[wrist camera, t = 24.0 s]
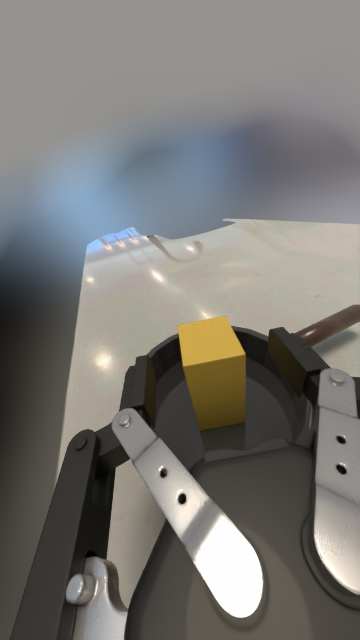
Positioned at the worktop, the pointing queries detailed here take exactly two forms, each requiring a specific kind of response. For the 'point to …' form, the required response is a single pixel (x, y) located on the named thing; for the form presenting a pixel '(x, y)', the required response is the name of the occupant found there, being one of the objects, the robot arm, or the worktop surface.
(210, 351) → the cheese
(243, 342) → the pan
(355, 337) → the worktop surface
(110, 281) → the worktop surface
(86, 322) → the worktop surface
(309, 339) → the pan handle
